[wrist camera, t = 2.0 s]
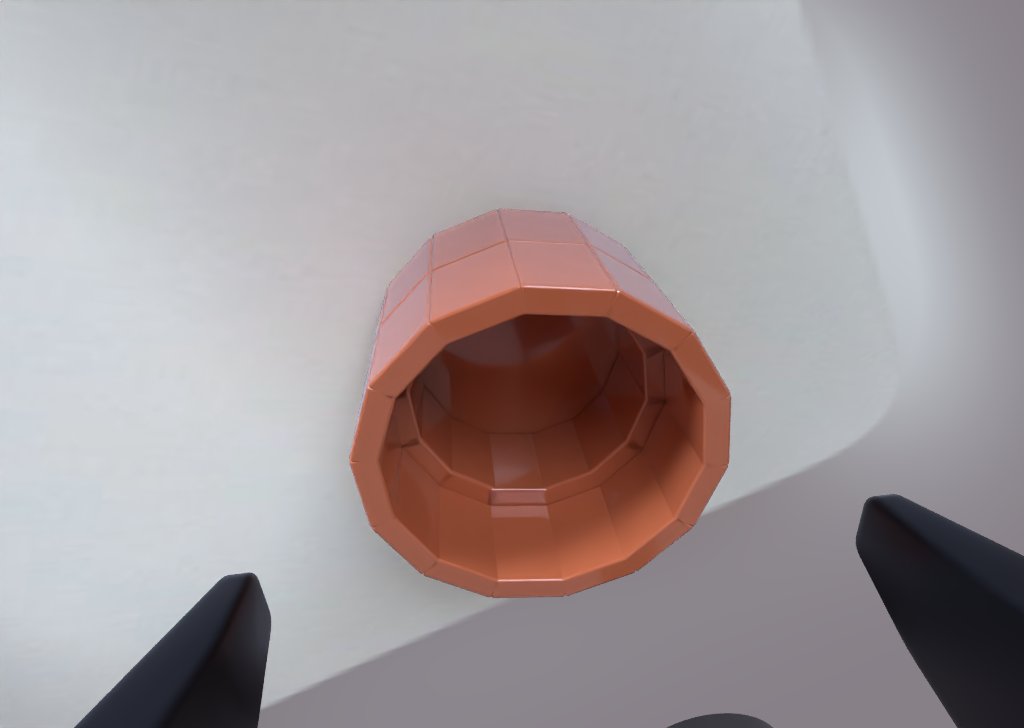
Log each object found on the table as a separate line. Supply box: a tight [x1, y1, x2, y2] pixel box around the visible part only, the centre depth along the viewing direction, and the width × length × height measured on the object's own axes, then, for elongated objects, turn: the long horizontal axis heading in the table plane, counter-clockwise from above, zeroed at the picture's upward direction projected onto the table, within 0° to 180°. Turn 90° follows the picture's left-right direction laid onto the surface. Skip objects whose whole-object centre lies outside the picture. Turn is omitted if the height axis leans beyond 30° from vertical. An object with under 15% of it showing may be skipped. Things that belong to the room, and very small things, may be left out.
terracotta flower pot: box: [349, 209, 731, 598], centre depth 13 cm, size 7×7×5 cm
